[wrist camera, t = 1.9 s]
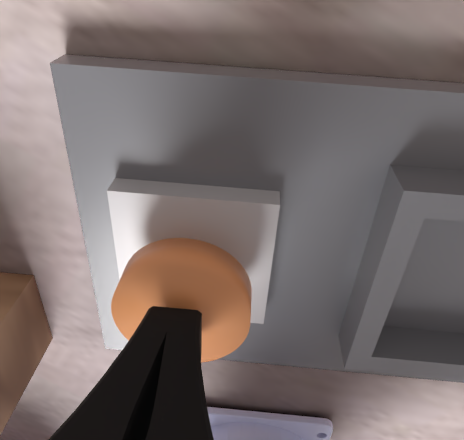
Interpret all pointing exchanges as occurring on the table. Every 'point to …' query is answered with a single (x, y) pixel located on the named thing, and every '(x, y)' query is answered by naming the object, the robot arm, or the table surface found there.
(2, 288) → the block
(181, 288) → the button
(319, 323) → the loading station
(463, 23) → the table surface
